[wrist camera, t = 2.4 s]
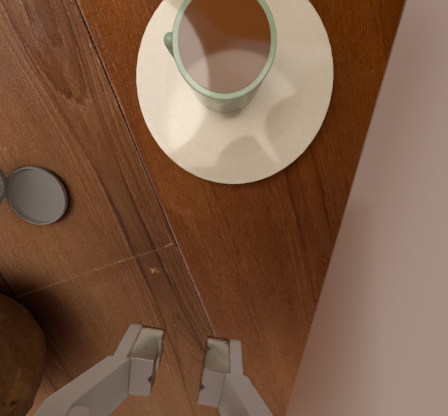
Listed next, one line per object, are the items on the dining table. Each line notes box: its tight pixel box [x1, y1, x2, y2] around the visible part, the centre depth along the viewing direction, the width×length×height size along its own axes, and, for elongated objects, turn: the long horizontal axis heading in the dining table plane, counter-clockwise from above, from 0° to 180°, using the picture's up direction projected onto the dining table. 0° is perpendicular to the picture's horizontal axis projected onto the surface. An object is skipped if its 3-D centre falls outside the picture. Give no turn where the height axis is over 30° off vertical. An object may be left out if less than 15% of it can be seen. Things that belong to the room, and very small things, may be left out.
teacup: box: [164, 0, 277, 113], centre depth 17 cm, size 8×7×6 cm
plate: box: [137, 0, 333, 184], centre depth 22 cm, size 18×18×2 cm
